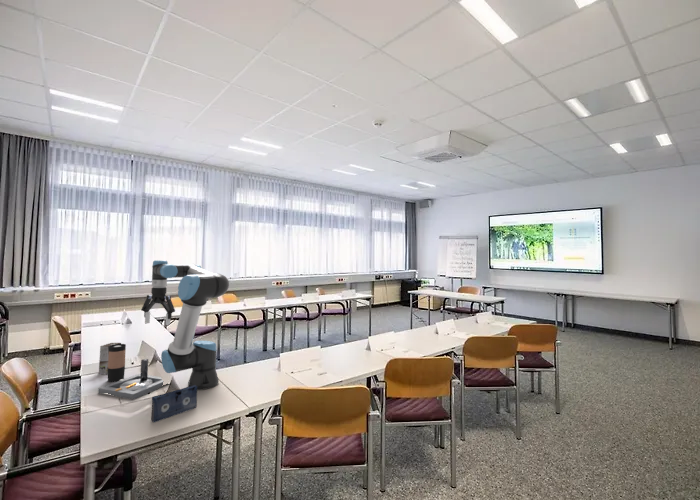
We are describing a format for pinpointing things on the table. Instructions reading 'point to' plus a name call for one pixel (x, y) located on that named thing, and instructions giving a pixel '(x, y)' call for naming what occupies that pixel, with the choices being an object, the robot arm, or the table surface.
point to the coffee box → (104, 358)
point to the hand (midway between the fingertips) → (157, 324)
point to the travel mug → (116, 362)
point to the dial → (138, 383)
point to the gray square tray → (119, 392)
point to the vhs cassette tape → (173, 403)
